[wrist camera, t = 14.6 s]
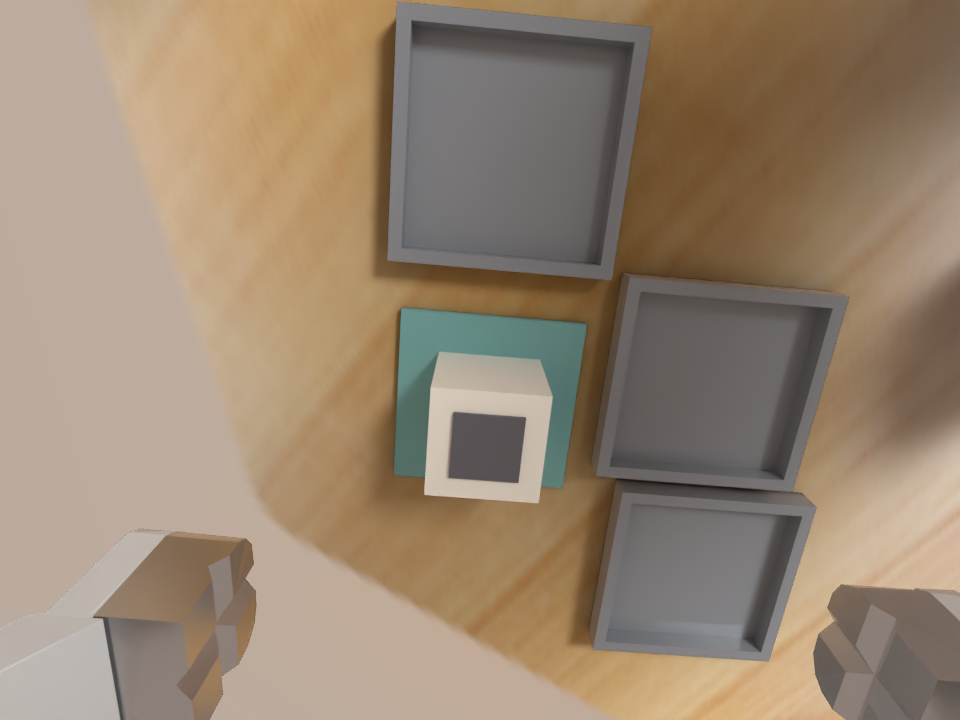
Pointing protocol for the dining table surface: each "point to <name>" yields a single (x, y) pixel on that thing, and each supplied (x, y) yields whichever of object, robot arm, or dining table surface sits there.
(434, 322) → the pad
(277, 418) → the dining table surface
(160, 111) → the dining table surface
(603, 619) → the dish
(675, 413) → the dish
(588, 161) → the dish
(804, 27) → the dining table surface
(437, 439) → the white cube
